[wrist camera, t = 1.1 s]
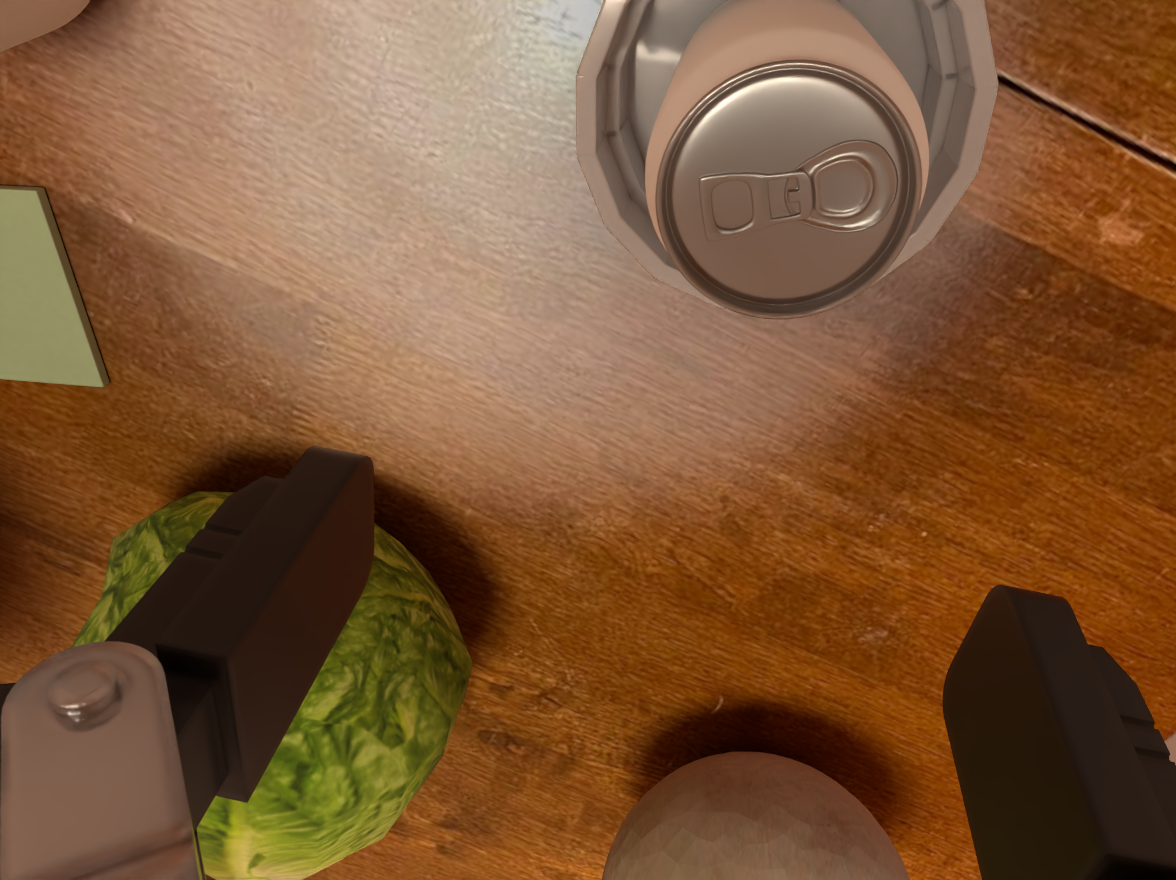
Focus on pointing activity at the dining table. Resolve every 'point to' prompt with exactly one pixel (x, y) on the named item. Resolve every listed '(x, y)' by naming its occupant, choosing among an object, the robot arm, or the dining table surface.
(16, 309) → the mat
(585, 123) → the white round dish
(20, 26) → the cup
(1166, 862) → the robot arm
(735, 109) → the can
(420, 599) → the lettuce
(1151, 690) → the dining table surface
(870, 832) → the decorative sphere
